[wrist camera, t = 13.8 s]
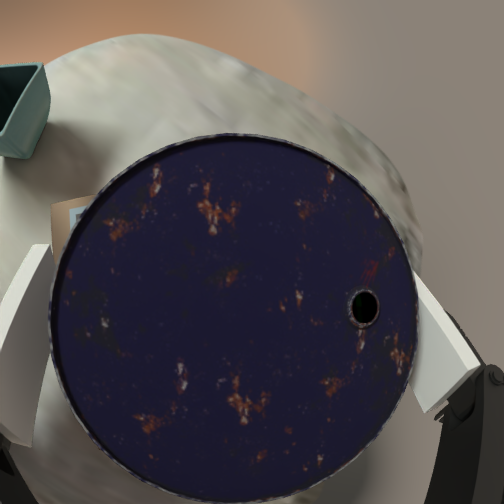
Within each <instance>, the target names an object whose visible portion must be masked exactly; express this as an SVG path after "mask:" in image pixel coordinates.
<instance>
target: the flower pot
mask: <svg viewBox="0 0 504 504" xmlns="http://www.w3.org/2000/svg"><path fill="white" fill-rule="evenodd" d="M50 103H51V96H50V90H49V85H48V81H47V78H46V73H45V69H44V65H43V63H42V62H32V63H18V64H7V65H0V156H5V157H13V158H20V159H28V158H30V157H31V156H32V154H33V151H34V149H35V146H36V144H37V142H38V139H39V137H40V135H41V133H42V131H43V129H44V127H45V125H46V122H47V119H48V115H49V111H50Z"/></svg>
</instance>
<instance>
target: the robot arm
mask: <svg viewBox="0 0 504 504" xmlns="http://www.w3.org/2000/svg"><path fill="white" fill-rule="evenodd" d="M55 268H56V265H55V261H54V258H53V254H52V251H51V247H50V244H33V246H32V248H31V249H30V251H29V253H28V254H27V256H26V258H25V259H24V261H23V263H22V264H21V266H20V268H19V270H18V272H17V273H16V275H15V277H14V279H13V281H12V283H11V284H10V286H9V288H8V290H7V292H6V294H5V296H4V298H3V300H2V302H1V304H0V504H38V502H37V501H36V499H35V498H34V496H33V494H32V493H31V491H30V490H29V488H28V486H27V485H26V483H25V481H24V480H23V478H22V476H21V474H20V473H19V471H18V469H17V467H16V465H15V463H14V461H13V460H12V458H11V456H10V454H9V452H8V450H9V446H10V441H11V442H12V443H16V444H19V445H23V446H27V447H31V446H32V438H33V431H34V424H35V418H36V412H37V407H38V401H39V396H40V391H41V387H42V382H43V378H44V374H45V369H46V365H47V361H48V358H49V354H50V342H49V333H48V308H49V296H50V288H51V284H52V280H53V276H54V272H55ZM413 272H414V271H413ZM414 276H415V281H416V286H417V291H418V300H419V316H420V321H419V336H418V346H417V351H416V356H415V360H414V365H413V369H412V372H411V375H410V378H409V381H408V382H409V384H410V386H411V388H412V390H413V392H414V394H415V396H416V398H417V400H418V402H419V404H420V406H421V408H422V410H423V412H424V413H426V412H429V411H431V410H433V409H435V408H438V407H439V406H440V405H441V404H442V403H443V402H444V401H445V400H446V399H447V400H448V402H449V404H448V405H447V406H445V407H444V408H443V409H442V410H441V411H440V412H439V413H438V414H437V415H436V416H435V418H434V420H437V419H438V418H440V417H441V416H442V415H443V414H444V416H443V417H442V418H441V419H440V420H439V422H441V423H443V425H442V431H441V437H440V442H439V447H438V452H437V457H436V461H435V465H434V469H433V474H432V477H431V481H430V485H429V488H428V492H427V496H426V499H425V502H424V504H504V373H503V371H502V370H501V369H500V368H499V367H497V366H496V365H492V364H490V365H487V366H486V364H485V363H484V362H483V360H482V359H481V357H480V356H479V354H478V353H477V351H476V349H475V348H474V346H473V345H472V343H471V342H470V341H469V339H468V338H467V337H466V336H465V333H464V332H463V331H462V329H460V326H459V325H458V323H457V322H456V320H455V319H454V318H453V317H452V316H451V315H450V314H449V313H448V312H447V311H445V310H444V309H443V308H442V307H441V306H440V304H439V303H438V302H437V301H436V299H435V298H434V297H433V295H432V294H431V293H430V291H429V290H428V289H427V287H426V286H425V285H424V283H423V282H422V281H421V280H420V278H419V277H418V276H417V275H416V273H415V272H414Z"/></svg>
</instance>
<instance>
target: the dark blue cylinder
mask: <svg viewBox="0 0 504 504" xmlns="http://www.w3.org/2000/svg"><path fill="white" fill-rule="evenodd" d="M419 321H420V316H419V300H418V291H417V286H416V281H415V276H414V272H413V267H412V264H411V262H410V259H409V256H408V253H407V250H406V248H405V245H404V243H403V241H402V239H401V237H400V235H399V233H398V231H397V229H396V227H395V225H394V224H393V222H392V220H391V218H390V217H389V216H388V214H387V213H386V212H385V210H384V209H383V207H382V206H381V205H380V203H379V202H378V201H377V199H376V198H375V197H374V196H373V195H372V194H371V193H370V192H369V191H368V190H367V189H366V188H365V187H364V186H363V185H362V184H361V183H360V182H359V181H358V180H357V179H356V178H355V177H354V176H352V175H351V174H350V173H348V172H347V171H346V170H344V169H343V168H342V167H340V166H339V165H338V164H336V163H335V162H333V161H331V160H330V159H328V158H326V157H324V156H322V155H320V154H319V153H317V152H315V151H313V150H311V149H309V148H306V147H303V146H300V145H298V144H295V143H292V142H289V141H286V140H283V139H278V138H273V137H268V136H263V135H258V134H239V133H224V134H215V135H207V136H200V137H195V138H191V139H188V140H184V141H181V142H177V143H174V144H171V145H168V146H165V147H163V148H161V149H159V150H157V151H155V152H153V153H151V154H149V155H147V156H145V157H143V158H141V159H139V160H137V161H136V162H135V163H133V164H132V165H130V166H129V167H127V168H126V169H125V170H123V171H122V172H121V173H119V174H118V175H116V176H115V177H114V178H113V179H112V180H111V181H110V182H109V183H108V184H107V185H106V186H105V187H104V188H103V189H102V190H101V191H100V192H99V193H98V194H97V195H96V196H95V197H94V198H93V199H92V200H91V201H90V202H89V204H88V205H87V207H86V208H85V209H84V211H83V212H82V214H81V215H80V217H79V218H78V220H77V221H76V223H75V224H74V226H73V227H72V229H71V231H70V233H69V235H68V237H67V239H66V242H65V244H64V246H63V248H62V250H61V253H60V255H59V257H58V261H57V264H56V268H55V272H54V276H53V280H52V284H51V288H50V296H49V308H48V333H49V342H50V351H51V357H52V361H53V365H54V368H55V372H56V375H57V378H58V382H59V385H60V388H61V390H62V392H63V394H64V396H65V398H66V400H67V402H68V404H69V406H70V408H71V410H72V412H73V414H74V416H75V417H76V419H77V420H78V422H79V423H80V424H81V426H82V427H83V429H84V430H85V431H86V433H87V434H88V435H89V437H90V438H91V439H92V441H93V442H94V443H95V444H96V445H97V446H98V447H99V448H100V449H101V450H102V451H103V452H104V453H105V454H106V455H107V456H109V457H110V458H111V459H112V460H113V461H114V462H115V463H116V464H117V465H119V466H120V467H122V468H123V469H125V470H126V471H127V472H129V473H130V474H132V475H133V476H135V477H136V478H138V479H139V480H141V481H143V482H145V483H147V484H149V485H151V486H153V487H155V488H158V489H160V490H162V491H164V492H167V493H169V494H172V495H175V496H179V497H183V498H186V499H190V500H194V501H198V502H205V503H214V504H256V503H262V502H267V501H272V500H276V499H281V498H285V497H288V496H291V495H294V494H296V493H299V492H302V491H304V490H307V489H309V488H312V487H314V486H315V485H317V484H319V483H321V482H323V481H325V480H326V479H328V478H330V477H332V476H333V475H335V474H336V473H338V472H339V471H340V470H342V469H343V468H345V467H346V466H347V465H348V464H350V463H351V462H352V461H354V460H355V459H356V458H357V457H358V456H359V455H360V454H361V453H362V452H363V451H364V450H365V449H366V448H367V447H368V446H369V445H370V444H371V443H372V442H373V441H374V440H375V439H376V437H377V436H378V435H379V433H380V432H381V431H382V429H383V428H384V427H385V425H386V424H387V423H388V421H389V420H390V418H391V417H392V415H393V413H394V411H395V409H396V407H397V406H398V404H399V402H400V400H401V398H402V396H403V394H404V392H405V389H406V386H407V383H408V381H409V378H410V375H411V372H412V369H413V365H414V360H415V356H416V351H417V346H418V336H419Z"/></svg>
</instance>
